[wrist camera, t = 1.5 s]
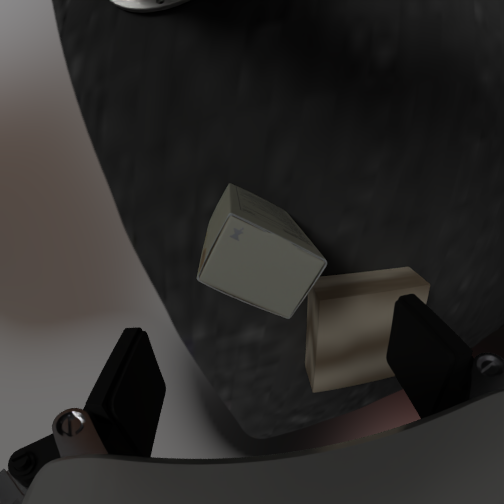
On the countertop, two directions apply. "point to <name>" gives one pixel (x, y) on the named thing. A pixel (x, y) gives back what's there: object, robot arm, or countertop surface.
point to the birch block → (354, 325)
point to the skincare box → (258, 254)
